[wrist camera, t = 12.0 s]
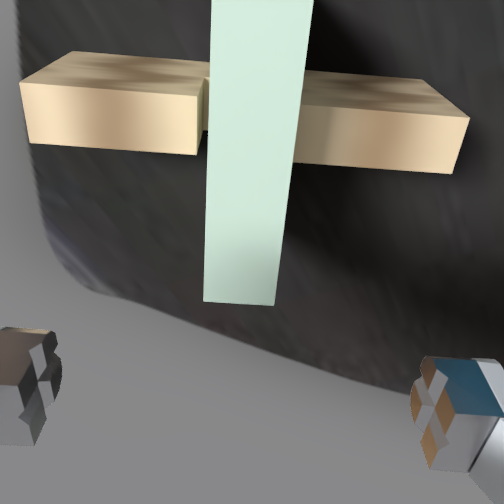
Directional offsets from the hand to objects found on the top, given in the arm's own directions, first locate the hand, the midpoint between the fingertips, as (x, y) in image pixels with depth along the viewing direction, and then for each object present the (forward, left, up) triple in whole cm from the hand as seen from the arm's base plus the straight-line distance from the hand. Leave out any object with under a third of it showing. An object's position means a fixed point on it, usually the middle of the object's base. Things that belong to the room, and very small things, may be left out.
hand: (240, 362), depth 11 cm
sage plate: (0, 0, -24) cm, 24 cm away
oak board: (0, 0, -24) cm, 24 cm away
